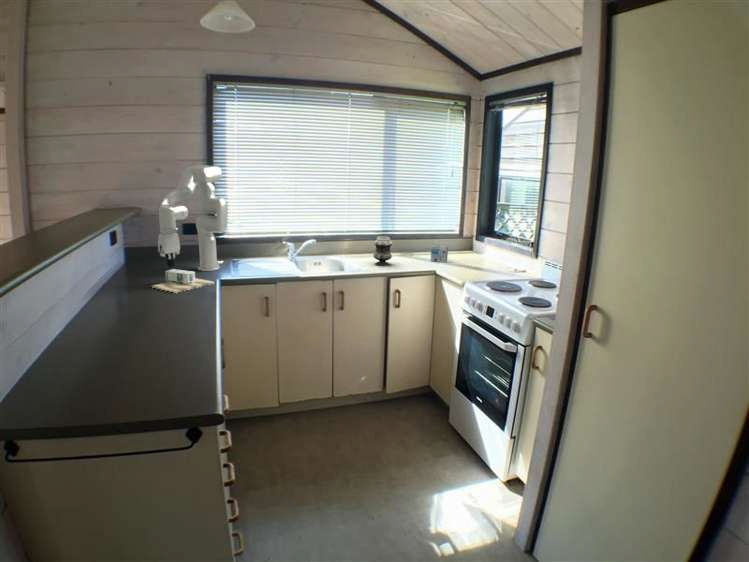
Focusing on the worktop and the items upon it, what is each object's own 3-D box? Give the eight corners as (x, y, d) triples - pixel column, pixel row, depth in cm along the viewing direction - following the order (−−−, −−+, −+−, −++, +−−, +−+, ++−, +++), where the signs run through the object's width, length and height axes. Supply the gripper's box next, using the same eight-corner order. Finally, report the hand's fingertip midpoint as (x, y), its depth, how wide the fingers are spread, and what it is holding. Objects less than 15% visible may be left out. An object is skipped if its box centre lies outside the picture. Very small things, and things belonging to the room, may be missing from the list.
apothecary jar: (391, 266, 305) (392, 238, 301) (372, 266, 305) (373, 238, 301) (391, 262, 316) (392, 236, 312) (373, 262, 317) (374, 235, 312)
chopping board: (191, 279, 258) (191, 277, 258) (214, 283, 249) (214, 281, 249) (151, 288, 238) (151, 285, 237) (175, 293, 229) (175, 291, 229)
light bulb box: (430, 261, 324) (431, 246, 322) (432, 259, 331) (432, 244, 328) (445, 262, 321) (446, 247, 319) (447, 261, 328) (448, 245, 325)
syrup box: (164, 270, 245) (187, 273, 240) (173, 268, 250) (195, 271, 245) (165, 281, 246) (187, 284, 241) (174, 279, 252) (196, 282, 247)
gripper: (176, 228, 249) (178, 263, 254) (150, 231, 237) (153, 267, 241) (185, 230, 246) (188, 265, 250) (160, 233, 233) (163, 269, 237)
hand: (171, 266), depth 245 cm, fingers closed
